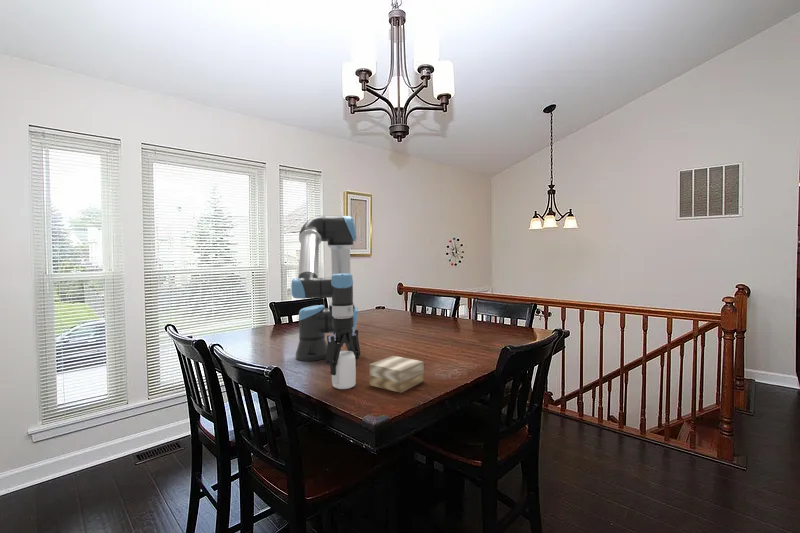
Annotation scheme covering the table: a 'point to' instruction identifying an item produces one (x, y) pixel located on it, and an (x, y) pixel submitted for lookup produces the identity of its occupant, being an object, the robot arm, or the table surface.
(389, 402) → the table surface
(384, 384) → the bottom slab
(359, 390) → the table surface
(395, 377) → the top slab
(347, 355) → the beverage can
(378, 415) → the table surface
